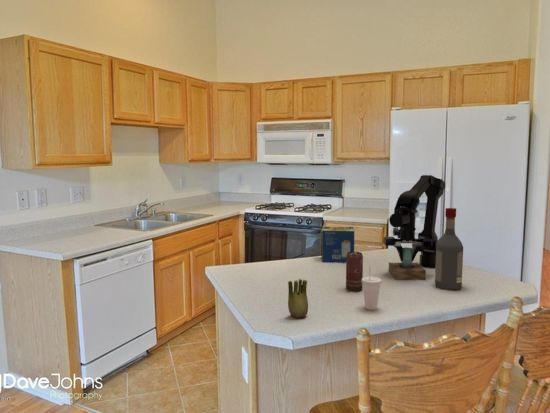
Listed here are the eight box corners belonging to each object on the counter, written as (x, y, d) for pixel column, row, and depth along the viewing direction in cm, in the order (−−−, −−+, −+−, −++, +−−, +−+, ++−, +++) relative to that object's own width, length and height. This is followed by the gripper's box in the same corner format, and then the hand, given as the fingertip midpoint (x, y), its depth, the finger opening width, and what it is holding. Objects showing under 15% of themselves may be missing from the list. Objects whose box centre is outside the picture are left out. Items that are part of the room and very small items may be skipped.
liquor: (435, 288, 154) (438, 209, 150) (434, 281, 162) (437, 206, 159) (461, 291, 151) (465, 210, 147) (459, 284, 159) (463, 207, 156)
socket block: (416, 271, 177) (417, 262, 176) (425, 280, 165) (425, 270, 164) (388, 271, 177) (388, 262, 177) (395, 279, 165) (395, 270, 165)
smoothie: (358, 304, 138) (359, 264, 137) (377, 303, 139) (378, 263, 137) (364, 311, 132) (365, 269, 130) (383, 310, 133) (384, 268, 131)
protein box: (322, 257, 205) (322, 226, 203) (353, 257, 202) (353, 226, 200) (321, 262, 194) (321, 230, 192) (354, 263, 192) (354, 230, 190)
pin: (412, 268, 169) (413, 249, 168) (402, 268, 169) (403, 249, 168) (410, 266, 173) (410, 247, 172) (400, 266, 173) (401, 247, 172)
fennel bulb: (287, 318, 128) (286, 280, 126) (292, 312, 132) (291, 276, 131) (304, 320, 126) (304, 282, 124) (309, 314, 130) (309, 278, 129)
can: (361, 286, 157) (361, 251, 156) (363, 292, 151) (363, 255, 149) (345, 286, 158) (345, 250, 156) (346, 291, 152) (346, 254, 150)
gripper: (424, 221, 176) (423, 256, 178) (380, 221, 177) (380, 256, 179) (433, 225, 165) (432, 263, 167) (386, 225, 166) (385, 263, 168)
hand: (406, 261), depth 170 cm, fingers closed on pin, 4 cm apart
